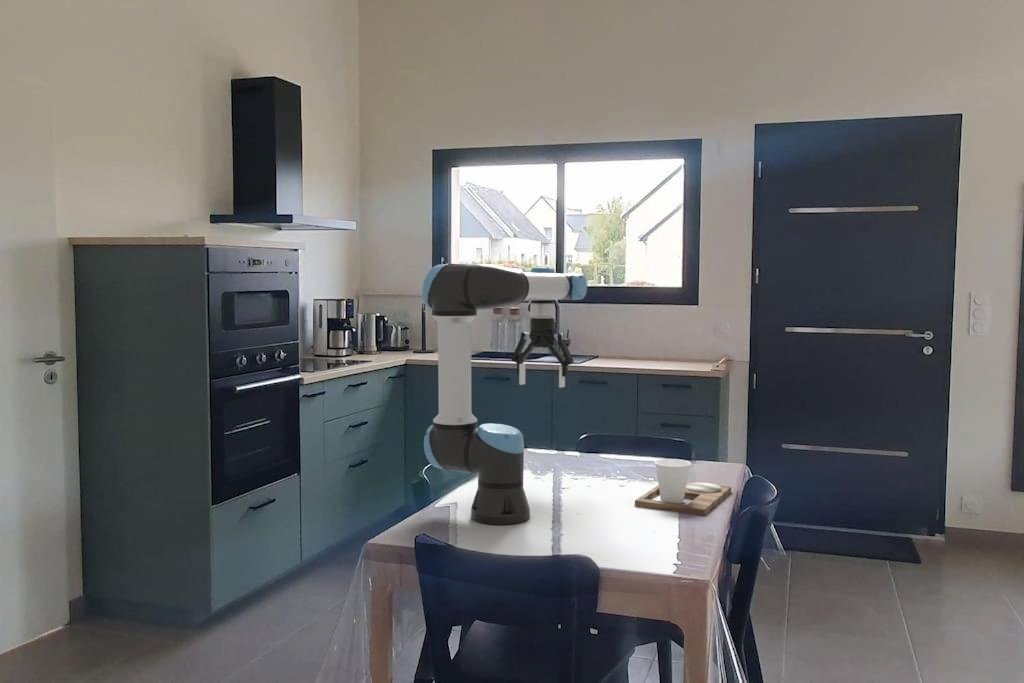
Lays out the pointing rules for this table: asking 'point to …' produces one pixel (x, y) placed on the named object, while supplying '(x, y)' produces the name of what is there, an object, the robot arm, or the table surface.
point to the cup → (672, 479)
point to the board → (700, 492)
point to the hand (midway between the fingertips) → (541, 385)
